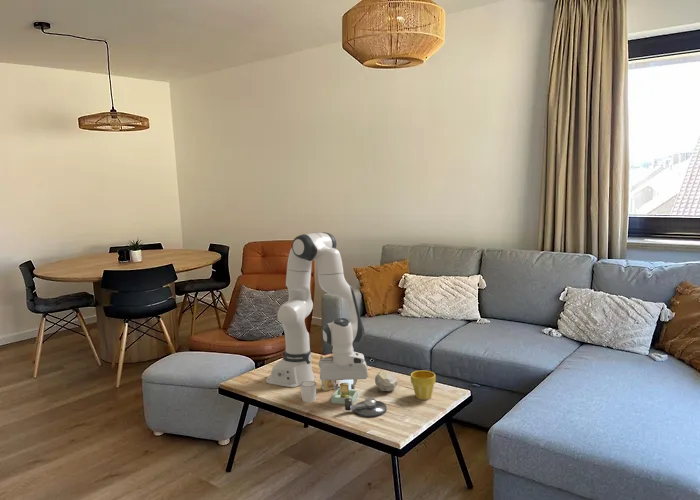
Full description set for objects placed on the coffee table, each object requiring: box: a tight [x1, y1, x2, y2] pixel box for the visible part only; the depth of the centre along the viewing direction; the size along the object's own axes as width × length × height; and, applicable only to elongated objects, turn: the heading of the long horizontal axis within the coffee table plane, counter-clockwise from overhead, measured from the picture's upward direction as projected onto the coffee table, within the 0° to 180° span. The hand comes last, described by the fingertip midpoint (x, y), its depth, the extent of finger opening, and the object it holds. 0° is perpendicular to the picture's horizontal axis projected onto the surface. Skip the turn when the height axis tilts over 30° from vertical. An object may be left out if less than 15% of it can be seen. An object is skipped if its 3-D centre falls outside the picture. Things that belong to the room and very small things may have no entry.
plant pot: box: [410, 369, 437, 401], centre depth 221 cm, size 10×10×10 cm
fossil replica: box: [374, 369, 398, 392], centre depth 231 cm, size 12×8×10 cm
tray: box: [330, 388, 359, 405], centre depth 222 cm, size 9×9×2 cm
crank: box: [344, 397, 377, 412], centre depth 210 cm, size 12×4×4 cm, turn 100°
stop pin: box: [339, 382, 350, 398], centre depth 221 cm, size 4×4×6 cm
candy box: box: [319, 352, 336, 392], centre depth 234 cm, size 9×4×15 cm, turn 120°
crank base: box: [353, 400, 388, 418], centre depth 211 cm, size 13×13×1 cm
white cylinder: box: [299, 381, 317, 403], centre depth 223 cm, size 7×7×7 cm
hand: (344, 389), depth 221 cm, fingers open, 6 cm apart
